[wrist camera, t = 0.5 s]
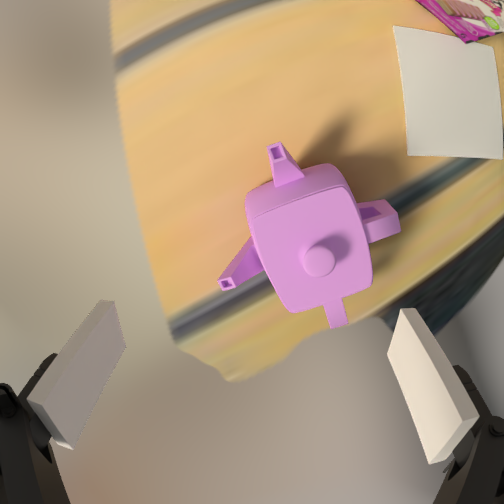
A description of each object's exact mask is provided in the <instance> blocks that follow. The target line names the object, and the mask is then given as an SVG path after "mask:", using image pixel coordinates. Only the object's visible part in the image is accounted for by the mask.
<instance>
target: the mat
mask: <svg viewBox="0 0 504 504" xmlns="http://www.w3.org/2000/svg"><path fill="white" fill-rule="evenodd" d="M392 27H393V32H394V37H395V42H396V48H397V54H398V60H399V67H400V74H401V82H402V90H403V99H404V110H405V123H406V139H407V156H450V157H473V158H489V159H502V160H503V128H502V111H501V99H500V89H499V81H498V74H497V67H496V61H495V55H494V50H493V47H491V46H487V45H484V44H481V43H477V42H471V43H468V44H465V43H464V42H463V41H462V40H461V39H460V38H458V37H454V36H450V35H446V34H441V33H436V32H431V31H426V30H420V29H414V28H408V27H401V26H392Z"/></svg>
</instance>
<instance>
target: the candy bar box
mask: <svg viewBox="0 0 504 504" xmlns="http://www.w3.org/2000/svg"><path fill="white" fill-rule="evenodd" d="M415 1H417V2H418V3H419V4H421V5H422V6H423V7H424V8H426V9H427V10H428V11H429V12H431V13H432V14H433V15H434V16H435V17H437V18H438V19H439V20H440V21H441V22H442V23H444V24H445V25H446V26H447V27H448V28H449V29H450V30H451V31H453V32H454V33H455V34H456V35H457V36H458V37H459V38H460V39H461V40H462V41H463V42H464V43H465V44H468V43H471V42H474V41H477V40H480V39H483V38H486V37H489V36H493V35H496V34H499V33H502V32H504V0H415Z"/></svg>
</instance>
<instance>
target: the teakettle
mask: <svg viewBox="0 0 504 504" xmlns="http://www.w3.org/2000/svg"><path fill="white" fill-rule="evenodd" d="M267 150H268V155H269V160H270V165H271V170H272V175H273V180H272V181H270V182H267V183H265V184H263V185H261V186H259V187H257V188H255V189H253V190H251V191H250V192H248V194H247V195H246V199H245V211H246V216H247V221H248V225H249V228H250V232H251V235H252V236H251V237H250V238H249V239H248V241H247V242H246V243H245V245H244V246H243V247H242V249H241V250H240V251H239V252H238V254H237V255H236V256H235V258H234V259H233V260H232V262H231V263H230V264H229V265H228V267H227V268H226V269H225V271H224V272H223V273H222V275H221V276H220V277H219V278H218V280H217V281H218V283H219V285H220V287H221V289H222V291H224V290H228V289H232V288H236V287H237V286H238V285H240V284H241V283H243V282H245V281H246V280H248V279H250V278H251V277H253V276H254V275H256V274H258V273H259V272H261V271H263V270H265V271H266V273H267V275H268V277H269V279H270V281H271V283H272V285H273V287H274V289H275V290H276V292H277V294H278V296H279V298H280V299H281V301H282V303H283V304H284V306H285V307H286V308H287V310H288V311H290V312H291V313H297V312H301V311H305V310H308V309H311V308H315V307H318V306H321V305H323V306H324V309H325V312H326V315H327V318H328V322H329V325H330V328H331V329H333V328H336V327H339V326H343V325H346V324H348V320H347V316H346V312H345V308H344V305H343V301H342V298H344V297H346V296H349V295H352V294H354V293H357V292H359V291H362V290H364V289H366V288H368V287H370V286H371V285H372V282H373V269H372V261H371V255H370V250H369V243H372V242H375V241H378V240H380V239H383V238H386V237H388V236H391V235H394V234H396V233H399V232H401V228H400V223H399V218H398V213H397V212H396V211H395V210H394V209H393V207H392V206H391V205H390V204H389V203H388V202H387V201H386V200H385V199H382V200H375V201H369V202H362V203H356V201H355V198H354V196H353V194H352V192H351V189H350V187H349V185H348V184H347V182H346V180H345V178H344V176H343V175H342V174H341V172H340V171H339V170H338V169H337V167H335V166H334V165H332V164H330V163H324V164H319V165H315V166H312V167H308V168H305V169H302V170H301V169H300V167H299V166H298V165H297V163H296V162H295V161H294V159H293V158H292V156H291V155H290V154H289V152H288V151H287V150H286V149H285V147H284V146H283V145H282V143H281V142H278V143H275V144H272V145H269V146H267Z"/></svg>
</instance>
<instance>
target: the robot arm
mask: <svg viewBox="0 0 504 504" xmlns="http://www.w3.org/2000/svg"><path fill="white" fill-rule="evenodd" d="M125 348H126V345H125V341H124V337H123V334H122V330H121V326H120V323H119V319H118V315H117V311H116V307H115V303H114V301H106V300H100V301H99V302H98V304H97V305H96V306H95V307H94V309H93V310H92V311H91V312H90V313H89V315H88V316H87V317H86V319H85V320H84V321H83V322H82V324H81V325H80V326H79V328H78V329H77V330H76V331H75V333H74V334H73V335H72V336H71V338H70V339H69V340H68V342H67V343H66V344H65V346H64V347H63V348H62V350H61V351H60V353H59V354H55V353H53V354H51V355H50V356H49V357H47V358H46V359H45V360H44V361H43V363H42V364H41V365H40V366H39V369H37V371H36V372H35V373H34V376H32V377H31V378H30V380H29V381H28V383H27V384H26V386H25V387H24V388H23V390H22V391H21V392H20V394H19V395H18V397H17V396H16V394H15V393H14V391H13V390H12V388H11V387H10V386H9V385H8V384H5V383H0V504H70V501H69V499H68V496H67V493H66V490H65V487H64V485H63V482H62V479H61V476H60V473H59V470H58V467H57V464H56V460H55V457H54V454H53V450H52V447H51V445H50V443H49V440H50V438H51V436H52V437H53V439H54V440H55V441H56V443H57V444H58V445H61V446H64V447H66V448H69V449H72V450H73V449H74V447H75V445H76V443H77V441H78V439H79V436H80V434H81V432H82V430H83V428H84V426H85V424H86V422H87V420H88V418H89V416H90V414H91V412H92V410H93V408H94V406H95V404H96V402H97V400H98V398H99V396H100V394H101V393H102V391H103V389H104V386H105V385H106V383H107V381H108V379H109V377H110V375H111V374H112V372H113V370H114V368H115V366H116V364H117V363H118V361H119V359H120V357H121V355H122V353H123V352H124V350H125ZM387 356H388V358H389V360H390V363H391V365H392V367H393V370H394V372H395V375H396V377H397V379H398V382H399V384H400V387H401V389H402V392H403V394H404V397H405V399H406V402H407V405H408V407H409V410H410V412H411V415H412V417H413V420H414V423H415V426H416V429H417V431H418V434H419V437H420V440H421V442H422V445H423V448H424V451H425V454H426V457H427V460H428V463H429V464H432V463H436V462H439V461H442V460H446V458H447V457H448V456H449V455H450V454H451V452H452V451H453V454H454V457H455V458H454V459H453V461H451V463H450V464H449V465H448V466H447V467H446V468H445V469H444V471H443V473H445V472H446V471H447V470H448V469H449V470H448V472H447V474H446V477H445V479H444V481H443V484H442V486H441V488H440V490H439V492H438V494H437V496H436V499H435V500H434V502H433V504H504V419H502V418H500V417H497V416H492V414H491V413H490V411H489V409H488V407H487V405H486V404H485V402H484V400H483V398H482V397H481V395H480V393H479V391H478V390H477V388H476V386H475V385H474V383H472V380H471V378H470V376H469V375H468V373H467V372H466V371H465V370H464V369H463V368H461V367H460V366H459V365H455V366H452V365H451V364H450V362H449V361H448V359H447V357H446V355H445V354H444V352H443V351H442V349H441V347H440V346H439V344H438V343H437V341H436V340H435V338H434V336H433V335H432V333H431V332H430V330H429V329H428V327H427V325H426V324H425V322H424V321H423V319H422V318H421V316H420V315H419V313H418V312H417V310H416V309H415V308H408V309H401V310H400V314H399V317H398V321H397V324H396V328H395V331H394V334H393V338H392V341H391V344H390V347H389V350H388V353H387Z"/></svg>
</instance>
